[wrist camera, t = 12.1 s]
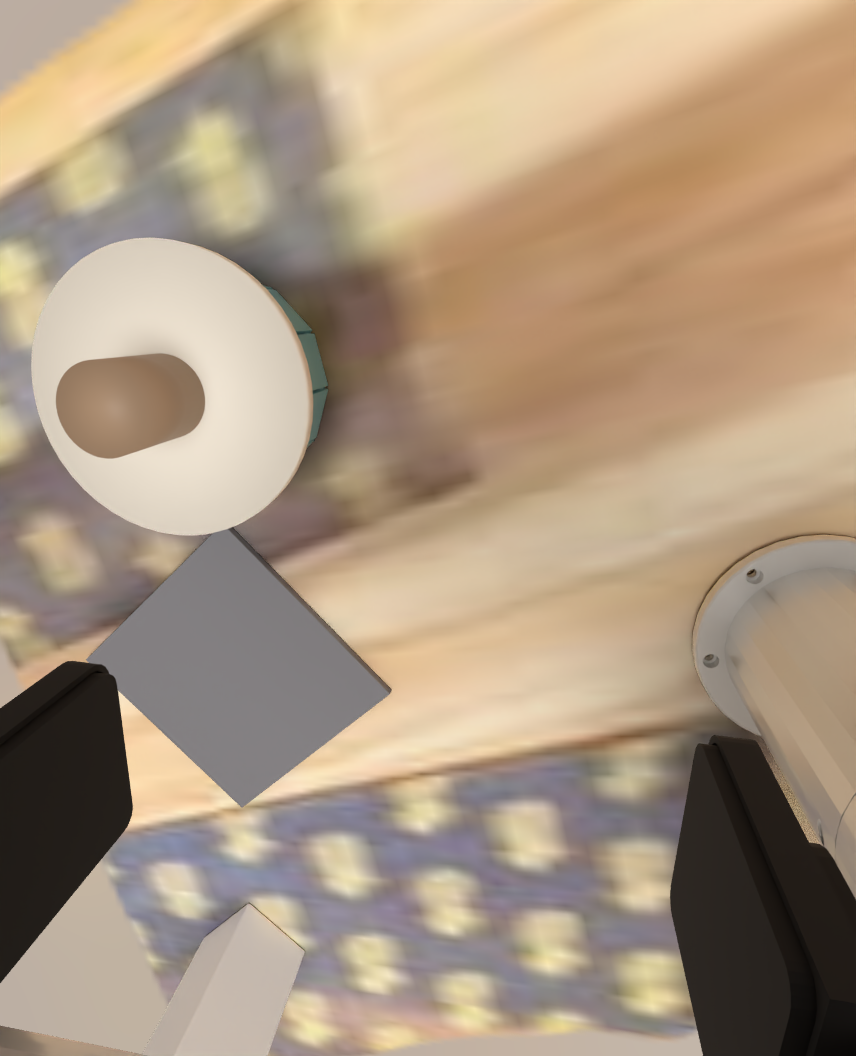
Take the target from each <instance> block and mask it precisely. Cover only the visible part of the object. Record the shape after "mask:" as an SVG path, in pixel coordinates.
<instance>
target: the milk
mask: <svg viewBox="0 0 856 1056" xmlns="http://www.w3.org/2000/svg"><path fill="white" fill-rule="evenodd" d="M304 953H305V951H304V950H303V949H302V948H301V947H299V946H298V945H297V944H296V943H295V942H294V941H292V940H291V939H290V938H289V937H288V936H287V935H286V934H284V933H283V932H282V931H281V930H280V929H279V928H277V927H276V926H275V925H274V924H273V923H272V922H271V921H269V920H268V919H267V918H266V917H265V916H264V915H262V914H261V913H260V912H259V911H258V910H257V909H255V908H254V907H253V906H252V905H251V904H249V903H248V904H247V905H246V906H244V907H243V908H242V909H241V910H239V911H238V912H237V913H235V914H234V915H233V916H231V917H230V918H229V919H228V920H226V921H225V922H224V923H222V924H221V925H220V926H219V927H217V928H216V929H215V930H213V931H212V932H211V933H210V934H208V935H207V936H206V937H204V939H203V941H202V942H201V944H200V946H199V948H198V950H197V952H196V954H195V956H194V957H193V959H192V961H191V963H190V965H189V967H188V969H187V971H186V972H185V974H184V976H183V978H182V980H181V982H180V984H179V986H178V987H177V989H176V991H175V993H174V995H173V997H172V999H171V1001H170V1002H169V1004H168V1006H167V1008H166V1010H165V1012H164V1014H163V1016H162V1018H161V1020H160V1021H159V1023H158V1025H157V1027H156V1029H155V1031H154V1032H153V1034H152V1036H151V1038H150V1040H149V1042H148V1044H147V1046H146V1047H145V1049H144V1051H143V1053H142V1055H147V1056H267V1055H268V1052H269V1050H270V1047H271V1044H272V1041H273V1039H274V1036H275V1033H276V1030H277V1028H278V1025H279V1022H280V1019H281V1016H282V1014H283V1011H284V1008H285V1005H286V1003H287V1000H288V997H289V994H290V992H291V989H292V986H293V983H294V981H295V978H296V975H297V972H298V970H299V967H300V964H301V961H302V959H303V956H304Z"/></svg>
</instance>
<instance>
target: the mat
mask: <svg viewBox="0 0 856 1056" xmlns="http://www.w3.org/2000/svg"><path fill="white" fill-rule="evenodd" d="M86 660H87V661H88V662H89V663H94V664H102V665H103V666H105V667H106V668H107V670H108V671H109V674H111V675H113V676H114V677H115V679H116V682H117V689H118V691H119V692H121V693H122V694H123V695H124V696H125V697H126V698H127V699H128V700H129V701H130V702H131V703H132V704H133V705H134V706H135V707H136V708H137V709H138V710H139V711H141V712H142V713H143V714H144V715H145V716H146V717H147V718H148V719H149V720H150V721H151V722H152V723H153V724H154V725H155V726H156V727H157V728H158V729H160V730H161V731H162V732H163V733H164V734H165V735H166V736H167V737H168V738H169V739H170V740H171V741H172V742H173V743H174V744H175V745H176V746H177V747H178V748H180V749H181V750H182V751H183V752H184V753H185V754H186V755H187V756H188V757H189V758H190V759H191V760H192V761H193V762H194V763H195V764H196V765H197V766H199V767H200V768H201V769H202V770H203V771H204V772H205V773H206V774H207V775H208V776H209V777H210V778H211V779H212V780H213V781H214V782H215V783H216V784H218V785H219V786H220V787H221V788H222V789H223V790H224V791H225V792H226V793H227V794H228V795H229V796H230V797H231V798H232V799H233V800H234V801H235V802H236V803H238V804H239V805H240V806H241V807H243V806H245V805H246V804H247V803H249V802H250V801H251V800H253V799H254V798H255V797H256V796H258V795H259V794H260V793H262V792H263V791H264V790H266V789H267V788H268V787H269V786H271V785H272V784H273V783H275V782H276V781H277V780H279V779H280V778H281V777H282V776H284V775H285V774H286V773H288V772H289V771H290V770H292V769H293V768H294V767H295V766H297V765H298V764H299V763H301V762H302V761H303V760H305V759H306V758H307V757H309V756H310V755H311V754H312V753H314V752H315V751H316V750H318V749H319V748H320V747H322V746H323V745H324V744H325V743H327V742H328V741H329V740H331V739H332V738H333V737H335V736H336V735H337V734H338V733H340V732H341V731H342V730H344V729H345V728H346V727H348V726H349V725H350V724H351V723H353V722H354V721H355V720H357V719H358V718H359V717H361V716H362V715H363V714H365V713H366V712H367V711H368V710H370V709H371V708H372V707H374V706H375V705H376V704H378V703H379V702H380V701H381V700H383V699H384V698H385V697H387V696H388V695H389V694H390V692H391V689H390V688H389V687H388V686H387V685H386V684H385V683H384V682H383V681H382V680H381V679H380V678H379V677H378V676H377V675H376V674H375V673H374V672H373V671H372V670H371V669H370V668H369V666H368V665H367V664H366V663H365V662H364V661H363V660H362V659H361V658H360V657H359V656H358V655H357V654H356V653H355V652H354V651H353V650H352V649H351V648H350V647H349V646H348V645H347V644H346V643H345V642H344V641H343V640H342V639H341V638H340V637H339V636H338V635H337V634H336V633H335V632H334V631H333V630H332V629H331V628H330V627H329V626H328V625H327V624H326V623H325V622H324V621H323V620H322V619H321V618H320V617H319V616H318V615H317V614H316V612H315V611H314V610H313V609H312V608H311V607H310V606H309V605H308V604H307V603H306V602H305V601H304V600H303V599H302V598H301V597H300V596H299V595H298V594H297V593H296V592H295V591H294V590H293V589H292V588H291V587H290V586H289V585H288V584H287V583H286V582H285V581H284V580H283V579H282V578H281V577H280V576H279V575H278V574H277V573H276V572H275V571H274V570H273V569H272V568H271V567H270V566H269V565H268V564H267V563H266V562H265V561H264V560H263V558H262V557H261V556H260V555H259V554H258V553H257V552H256V551H255V550H254V549H253V548H252V547H251V546H250V545H249V544H248V543H247V542H246V541H245V540H244V539H243V538H242V537H241V536H240V535H239V534H238V533H237V532H236V531H235V530H234V529H233V528H232V527H231V528H229V529H226V530H222V531H218V532H215V533H213V534H212V535H211V536H210V537H209V538H208V539H207V540H206V541H205V542H204V543H203V544H202V545H201V546H200V547H199V548H198V549H197V550H196V551H195V552H194V553H193V554H192V555H191V556H190V557H189V558H188V559H187V560H186V561H185V562H184V563H183V564H182V565H181V566H180V567H179V568H178V569H177V570H176V571H175V572H174V573H173V574H172V575H171V576H170V577H169V578H168V579H167V580H166V581H165V582H164V583H163V584H162V585H161V586H160V587H159V588H158V589H157V590H156V591H155V592H154V593H153V594H152V595H151V596H150V597H149V598H148V599H147V600H146V601H145V602H144V603H143V604H142V605H140V606H139V607H138V608H137V609H136V610H135V611H134V612H133V613H132V614H131V615H130V616H129V617H128V618H127V619H126V620H125V621H124V622H123V623H122V624H121V625H120V626H119V627H118V628H117V629H116V630H115V631H114V632H113V633H112V634H111V635H110V636H109V637H108V638H107V639H106V640H105V641H104V642H103V643H102V644H101V645H100V646H99V647H98V648H97V649H96V650H95V651H94V652H93V653H92V654H91V655H90V656H89V657H88V658H87V659H86Z"/></svg>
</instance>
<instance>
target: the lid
mask: <svg viewBox="0 0 856 1056" xmlns="http://www.w3.org/2000/svg"><path fill="white" fill-rule="evenodd" d="M31 372H32V382H33V391H34V396H35V401H36V405H37V409H38V413H39V416H40V419H41V422H42V425H43V427H44V430H45V432H46V434H47V436H48V439H49V441H50V443H51V445H52V447H53V448H54V450H55V452H56V454H57V455H58V457H59V459H60V460H61V462H62V463H63V464H64V466H65V467H66V469H67V470H68V471H69V473H70V474H71V475H72V477H73V478H74V479H75V480H76V481H77V482H78V483H79V484H80V485H81V486H82V488H83V489H84V490H85V491H86V492H88V493H89V494H90V495H91V496H92V497H93V498H94V499H95V500H97V501H98V502H99V503H100V504H102V505H103V506H105V507H106V508H107V509H109V510H110V511H112V512H113V513H115V514H117V515H118V516H120V517H122V518H124V519H126V520H127V521H129V522H132V523H134V524H137V525H139V526H141V527H144V528H147V529H151V530H154V531H158V532H161V533H168V534H175V535H202V534H210V533H215V532H218V531H222V530H226V529H229V528H231V527H233V526H236V525H238V524H240V523H243V522H244V521H246V520H247V519H249V518H251V517H252V516H254V515H256V514H257V513H258V512H260V511H261V510H263V509H264V508H265V507H267V506H268V505H269V504H270V503H271V502H272V501H274V500H275V499H276V498H277V497H278V496H279V495H280V494H281V492H282V491H283V490H284V489H285V488H286V487H287V486H288V484H289V483H290V481H291V480H292V478H293V476H294V475H295V473H296V472H297V470H298V468H299V466H300V463H301V461H302V459H303V457H304V455H305V451H306V448H307V445H308V442H309V438H310V432H311V427H312V421H313V392H312V381H311V376H310V371H309V367H308V362H307V359H306V356H305V353H304V350H303V347H302V344H301V342H300V340H299V338H298V335H297V333H296V331H295V329H294V327H293V325H292V323H291V322H290V320H289V318H288V317H287V315H286V314H285V312H284V310H283V309H282V307H281V306H280V305H279V303H278V302H277V301H276V300H275V298H274V297H273V296H272V295H271V294H270V292H269V291H268V290H267V289H266V288H265V287H264V286H263V285H262V284H261V283H260V282H259V281H258V280H257V279H256V278H255V277H254V276H252V275H251V274H250V273H248V272H247V271H246V270H244V269H243V268H242V267H240V266H239V265H238V264H236V263H235V262H233V261H231V260H229V259H227V258H226V257H224V256H222V255H220V254H218V253H216V252H213V251H211V250H208V249H206V248H203V247H201V246H197V245H193V244H189V243H185V242H180V241H176V240H171V239H161V238H136V239H129V240H124V241H120V242H115V243H112V244H110V245H107V246H105V247H102V248H100V249H97V250H96V251H94V252H92V253H91V254H89V255H87V256H86V257H84V258H82V259H81V260H80V261H79V262H78V263H76V264H75V265H74V266H73V267H72V268H70V269H69V270H68V271H67V272H66V274H65V275H64V276H63V277H62V278H61V279H60V281H59V282H58V283H57V284H56V286H55V287H54V289H53V290H52V292H51V294H50V295H49V297H48V298H47V300H46V303H45V305H44V307H43V309H42V312H41V314H40V316H39V320H38V323H37V327H36V330H35V334H34V341H33V348H32V367H31Z"/></svg>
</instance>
